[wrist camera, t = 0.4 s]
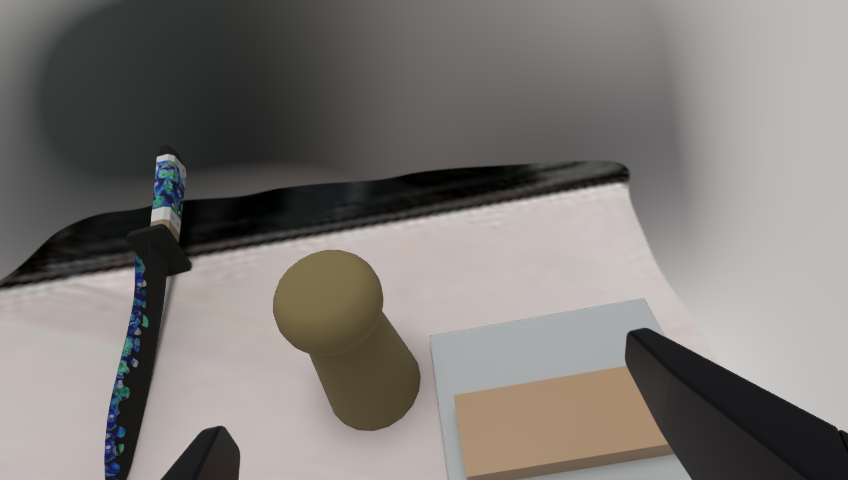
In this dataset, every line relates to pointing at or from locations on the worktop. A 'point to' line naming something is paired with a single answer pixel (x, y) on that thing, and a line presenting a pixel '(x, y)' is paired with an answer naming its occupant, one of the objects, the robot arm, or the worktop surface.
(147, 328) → the knife
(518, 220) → the worktop surface
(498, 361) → the ridge board
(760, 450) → the robot arm
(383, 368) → the olive pepper mill
